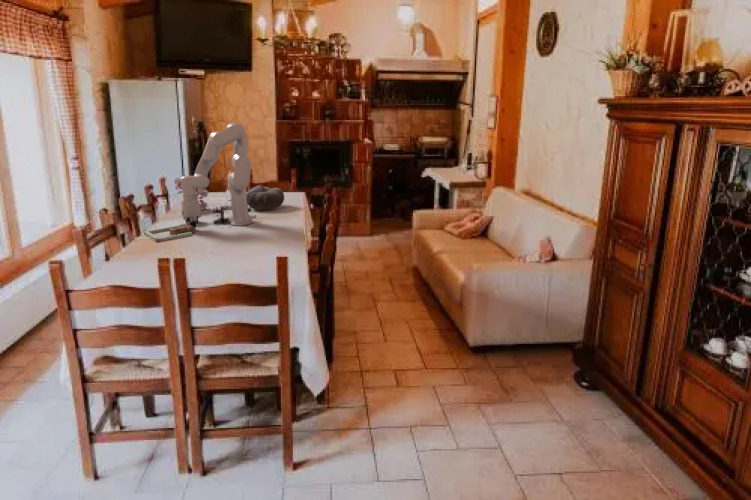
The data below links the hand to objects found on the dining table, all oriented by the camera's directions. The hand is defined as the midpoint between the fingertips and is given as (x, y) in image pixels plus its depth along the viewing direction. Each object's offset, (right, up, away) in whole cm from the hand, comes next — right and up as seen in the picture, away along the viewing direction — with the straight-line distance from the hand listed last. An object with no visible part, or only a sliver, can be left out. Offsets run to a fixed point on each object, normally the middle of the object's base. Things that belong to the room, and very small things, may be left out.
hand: (193, 227), depth 323 cm
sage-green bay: (-11, -4, -8) cm, 14 cm away
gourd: (+33, +15, +51) cm, 63 cm away
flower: (-16, +14, +52) cm, 56 cm away
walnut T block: (-6, -3, -5) cm, 8 cm away
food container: (-5, +4, +17) cm, 18 cm away
